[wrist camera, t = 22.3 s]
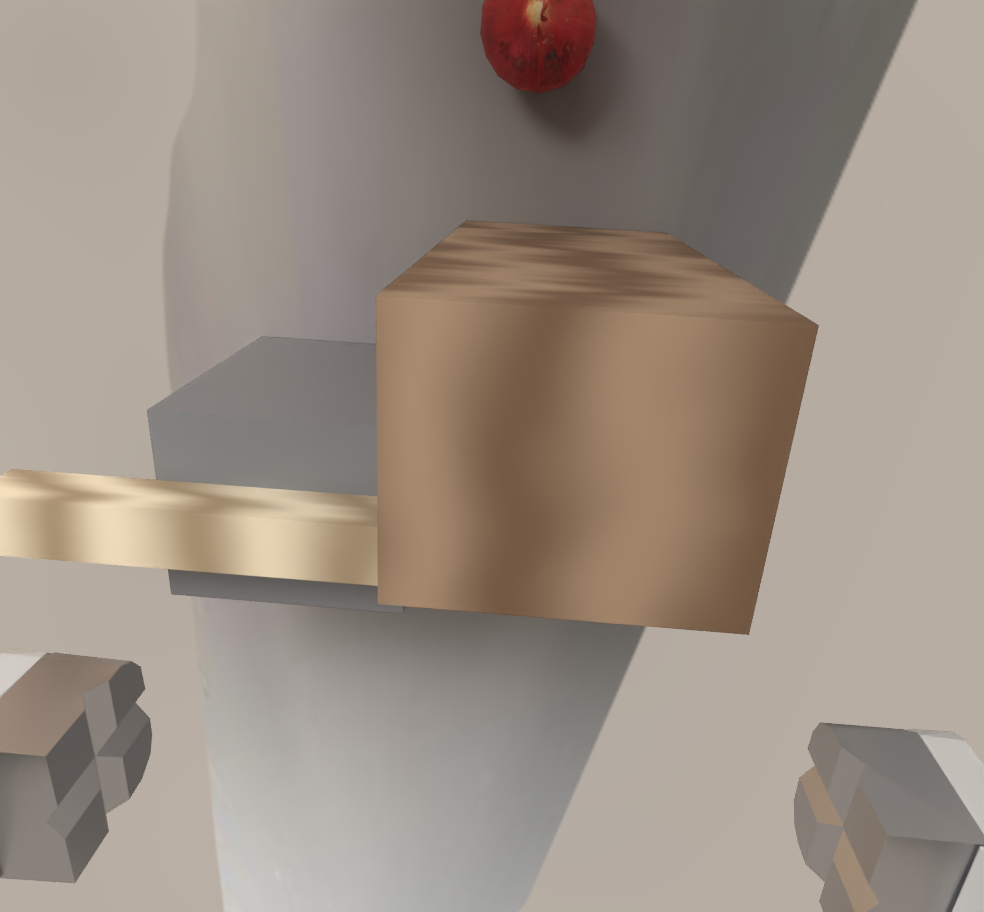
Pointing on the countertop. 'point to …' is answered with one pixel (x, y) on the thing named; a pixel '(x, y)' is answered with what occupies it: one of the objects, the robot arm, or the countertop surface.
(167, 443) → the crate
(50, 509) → the bar
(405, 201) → the countertop surface
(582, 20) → the red apple
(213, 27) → the countertop surface
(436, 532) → the pedestal
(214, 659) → the countertop surface
